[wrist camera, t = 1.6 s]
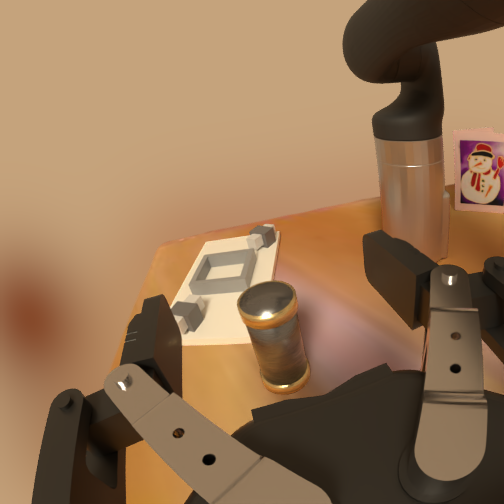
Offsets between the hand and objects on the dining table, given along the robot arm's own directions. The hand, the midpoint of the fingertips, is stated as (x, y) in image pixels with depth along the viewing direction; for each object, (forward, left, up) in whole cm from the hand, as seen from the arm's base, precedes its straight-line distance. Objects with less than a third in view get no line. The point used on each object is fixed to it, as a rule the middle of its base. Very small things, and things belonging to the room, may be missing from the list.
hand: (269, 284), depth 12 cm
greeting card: (-34, -43, -19) cm, 58 cm away
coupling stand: (+13, -28, -18) cm, 36 cm away
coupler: (+3, -10, -18) cm, 21 cm away
